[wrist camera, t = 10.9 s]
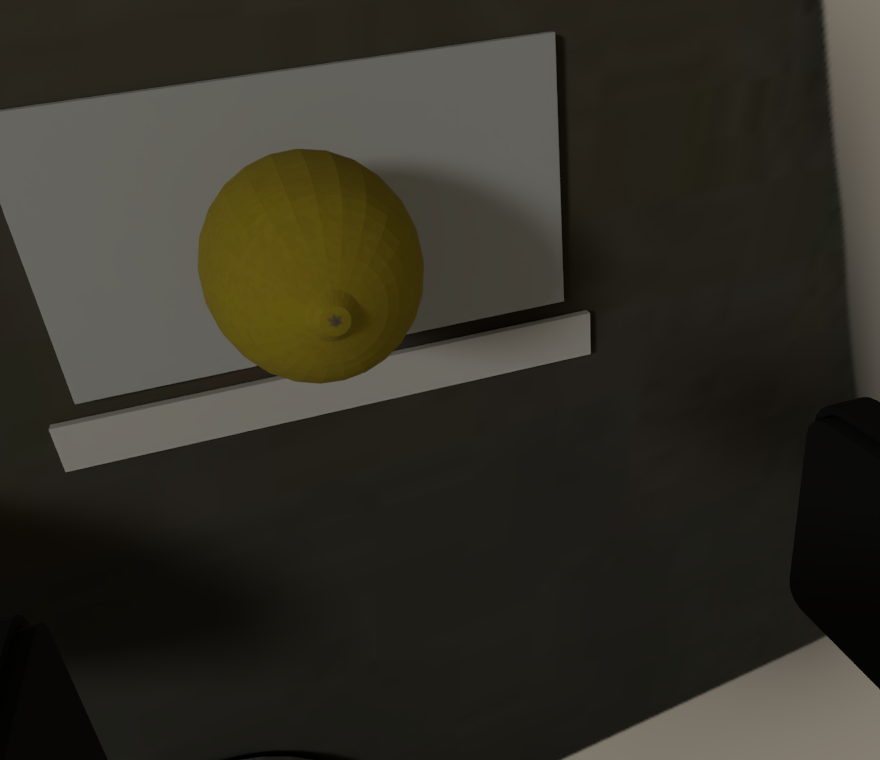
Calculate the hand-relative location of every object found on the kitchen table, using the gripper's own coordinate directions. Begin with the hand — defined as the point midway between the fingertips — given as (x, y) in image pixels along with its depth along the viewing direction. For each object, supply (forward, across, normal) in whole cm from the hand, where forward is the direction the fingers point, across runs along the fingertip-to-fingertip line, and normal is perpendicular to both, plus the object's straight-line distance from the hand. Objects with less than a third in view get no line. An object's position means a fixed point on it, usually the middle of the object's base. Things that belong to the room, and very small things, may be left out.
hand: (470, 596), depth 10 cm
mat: (+17, 0, 0) cm, 17 cm away
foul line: (+17, 0, +5) cm, 18 cm away
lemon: (+17, 0, 0) cm, 17 cm away
